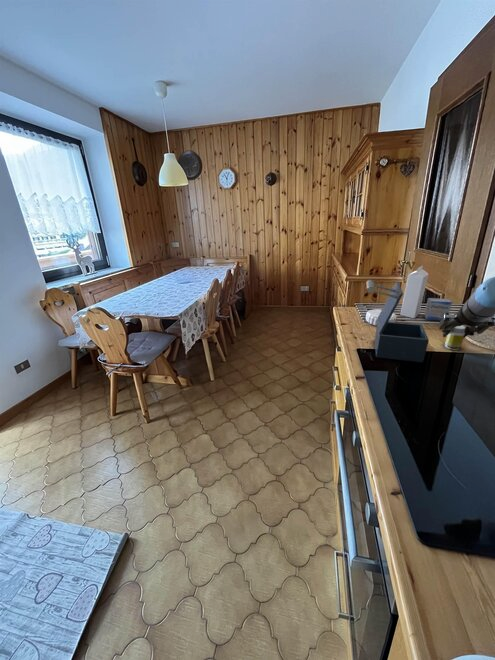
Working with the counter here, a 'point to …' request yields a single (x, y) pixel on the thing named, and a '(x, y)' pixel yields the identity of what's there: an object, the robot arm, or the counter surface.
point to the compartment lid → (390, 303)
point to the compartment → (401, 342)
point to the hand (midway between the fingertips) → (452, 334)
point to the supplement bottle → (455, 338)
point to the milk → (414, 293)
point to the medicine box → (437, 308)
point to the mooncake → (373, 315)
